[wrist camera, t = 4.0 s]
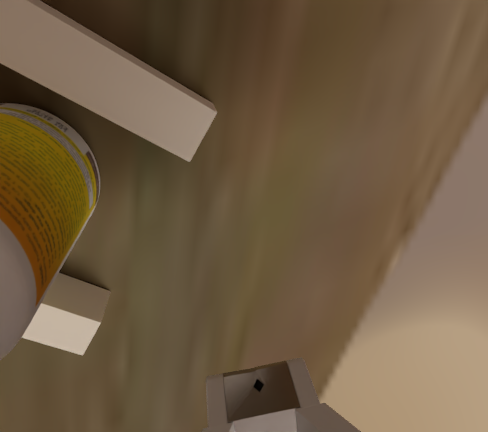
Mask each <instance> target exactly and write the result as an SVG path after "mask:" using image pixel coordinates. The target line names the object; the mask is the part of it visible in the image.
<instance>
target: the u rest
mask: <svg viewBox="0 0 488 432" xmlns="http://www.w3.org/2000/svg"><path fill="white" fill-rule="evenodd" d="M0 63H1V64H3V65H5V66H7V67H8V68H10V69H12V70H14V71H16V72H18V73H20V74H22V75H24V76H26V77H28V78H29V79H31V80H33V81H35V82H37V83H39V84H41V85H43V86H45V87H47V88H49V89H51V90H52V91H54V92H56V93H58V94H60V95H62V96H64V97H66V98H68V99H70V100H72V101H73V102H75V103H77V104H79V105H81V106H83V107H85V108H87V109H89V110H91V111H93V112H95V113H96V114H98V115H100V116H102V117H104V118H106V119H108V120H110V121H112V122H114V123H116V124H117V125H119V126H121V127H123V128H125V129H127V130H129V131H131V132H133V133H135V134H137V135H139V136H140V137H142V138H144V139H146V140H148V141H150V142H152V143H154V144H156V145H158V146H160V147H162V148H163V149H165V150H167V151H169V152H171V153H173V154H175V155H177V156H179V157H181V158H183V159H184V160H186V161H188V162H190V161H191V159H192V157H193V155H194V154H195V152H196V150H197V148H198V146H199V145H200V143H201V141H202V139H203V137H204V136H205V134H206V132H207V130H208V128H209V127H210V125H211V123H212V121H213V119H214V118H215V116H216V114H217V111H216V109H215V107H214V105H213V103H211V102H210V101H208V100H206V99H205V98H203V97H201V96H200V95H198V94H196V93H195V92H193V91H191V90H190V89H188V88H186V87H185V86H183V85H181V84H180V83H178V82H176V81H174V80H173V79H171V78H169V77H168V76H166V75H164V74H163V73H161V72H159V71H158V70H156V69H154V68H153V67H151V66H149V65H148V64H146V63H144V62H143V61H141V60H139V59H138V58H136V57H134V56H133V55H131V54H129V53H128V52H126V51H124V50H122V49H121V48H119V47H117V46H116V45H114V44H112V43H111V42H109V41H107V40H106V39H104V38H102V37H101V36H99V35H97V34H96V33H94V32H92V31H91V30H89V29H87V28H86V27H84V26H82V25H81V24H79V23H77V22H76V21H74V20H72V19H71V18H69V17H67V16H65V15H64V14H62V13H60V12H59V11H57V10H55V9H54V8H52V7H50V6H49V5H47V4H45V3H44V2H42V1H40V0H0ZM110 292H111V291H108V290H106V289H103V288H100V287H97V286H95V285H92V284H89V283H86V282H84V281H81V280H78V279H75V278H73V277H70V276H67V275H64V274H61V273H58V275H57V276H56V278H55V280H54V282H53V283H52V285H51V287H50V289H49V290H48V292H47V294H46V296H45V297H44V299H43V301H42V303H41V305H40V306H39V308H38V310H37V312H36V313H35V315H34V317H33V319H32V321H31V323H30V324H29V326H28V327H27V329H26V331H25V333H24V334H23V336H22V338H25V339H28V340H32V341H35V342H39V343H42V344H45V345H49V346H52V347H56V348H59V349H62V350H66V351H69V352H73V353H76V354H79V355H83V354H84V352H85V351H86V349H87V347H88V345H89V343H90V342H91V340H92V338H93V336H94V334H95V333H96V331H97V329H98V327H99V325H100V323H101V321H102V318H103V314H104V311H105V308H106V305H107V301H108V298H109V295H110Z"/></svg>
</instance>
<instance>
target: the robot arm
mask: <svg viewBox="0 0 488 432" xmlns="http://www.w3.org/2000/svg"><path fill="white" fill-rule="evenodd" d="M206 394H207V416H208V428H204V429H203V430H202V432H361V431H359V430H358V429H357V428H356V427H354V426H353V425H352V424H351V423H349V422H348V421H347V420H345V419H344V418H343V417H342V416H341V415H339V414H338V413H337V412H336V411H334V410H333V409H332V408H331V407H329V406H328V405H327V404H326V403H322V404H320V402H319V400H318V397H317V394H316V392H315V389H314V386H313V383H312V381H311V378H310V375H309V372H308V370H307V367H306V364H305V361H304V359H303V358H297V359H292V360H287V361H281V362H277V363H272V364H268V365H263V366H258V367H255V368H251V369H245V370H239V371H233V372H228V373H223V374H217V375H212V376H207V378H206Z"/></svg>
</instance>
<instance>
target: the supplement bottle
mask: <svg viewBox="0 0 488 432" xmlns="http://www.w3.org/2000/svg"><path fill="white" fill-rule="evenodd" d="M99 192H100V176H99V170H98V166H97V163H96V160H95V157H94V155H93V153H92V151H91V150H90V148H89V146H88V145H87V143H86V142H85V141H84V140H83V138H82V137H81V136H80V135H79V134H78V133H77V132H76V131H75V130H74V129H73V128H72V127H70V126H69V125H68V124H67V123H65V122H64V121H63V120H61V119H59V118H58V117H56V116H54V115H52V114H50V113H48V112H46V111H44V110H41V109H38V108H35V107H31V106H27V105H22V104H13V103H0V360H1V359H2V358H3V357H5V356H6V355H7V354H8V353H9V352H10V351H11V350H12V349H13V348H14V347H15V345H16V344H17V343H18V342H19V340H20V339H21V337H22V336H23V334H24V333H25V331H26V329H27V327H28V326H29V324H30V323H31V321H32V319H33V317H34V315H35V313H36V312H37V310H38V308H39V306H40V305H41V303H42V301H43V299H44V297H45V296H46V294H47V292H48V290H49V289H50V287H51V285H52V283H53V282H54V280H55V278H56V276H57V275H58V273H59V271H60V269H61V268H62V266H63V264H64V262H65V261H66V259H67V257H68V255H69V254H70V252H71V250H72V248H73V247H74V245H75V243H76V241H77V240H78V238H79V236H80V234H81V232H82V231H83V229H84V227H85V225H86V224H87V222H88V220H89V218H90V217H91V215H92V213H93V211H94V209H95V206H96V204H97V201H98V198H99Z"/></svg>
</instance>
